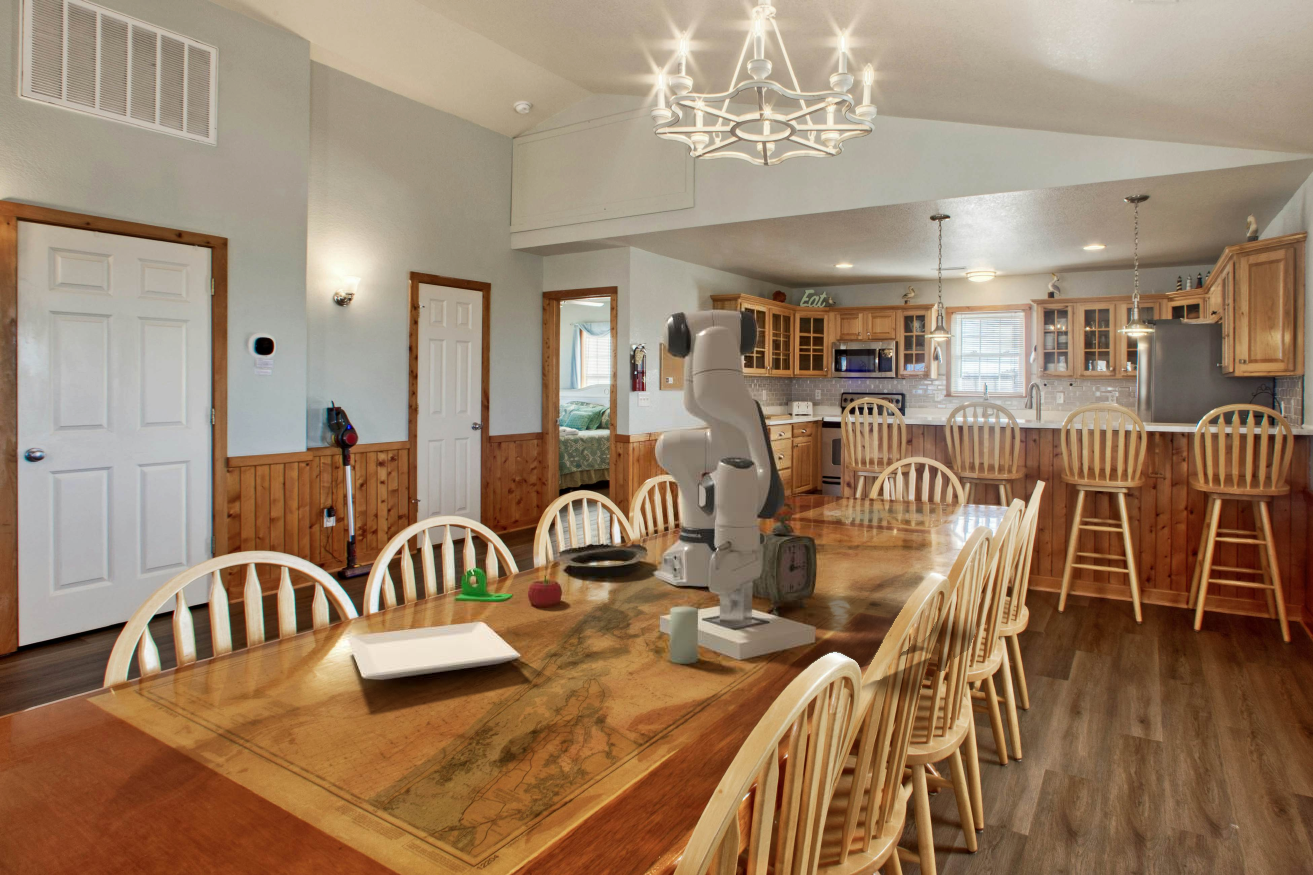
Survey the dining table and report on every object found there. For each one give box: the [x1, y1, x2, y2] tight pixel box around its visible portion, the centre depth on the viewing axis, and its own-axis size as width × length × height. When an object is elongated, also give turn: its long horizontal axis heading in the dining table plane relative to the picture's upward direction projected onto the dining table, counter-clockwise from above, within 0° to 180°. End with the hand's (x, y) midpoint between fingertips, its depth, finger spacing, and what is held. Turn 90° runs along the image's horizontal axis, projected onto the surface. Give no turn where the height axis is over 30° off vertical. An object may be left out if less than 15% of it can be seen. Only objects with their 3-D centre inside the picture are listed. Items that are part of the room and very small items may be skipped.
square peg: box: [719, 581, 753, 627], centre depth 151 cm, size 5×5×11 cm
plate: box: [347, 621, 522, 680], centre depth 137 cm, size 26×26×2 cm
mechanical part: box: [454, 567, 514, 603], centre depth 178 cm, size 12×6×8 cm, turn 84°
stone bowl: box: [557, 543, 649, 578], centre depth 205 cm, size 25×25×9 cm
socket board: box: [659, 605, 816, 661], centre depth 151 cm, size 24×20×3 cm
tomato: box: [527, 574, 563, 608], centre depth 174 cm, size 8×8×8 cm
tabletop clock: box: [752, 502, 818, 617], centre depth 171 cm, size 14×9×25 cm, turn 131°
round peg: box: [669, 606, 699, 665], centre depth 135 cm, size 5×5×9 cm
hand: (736, 607), depth 151 cm, fingers open, 8 cm apart
